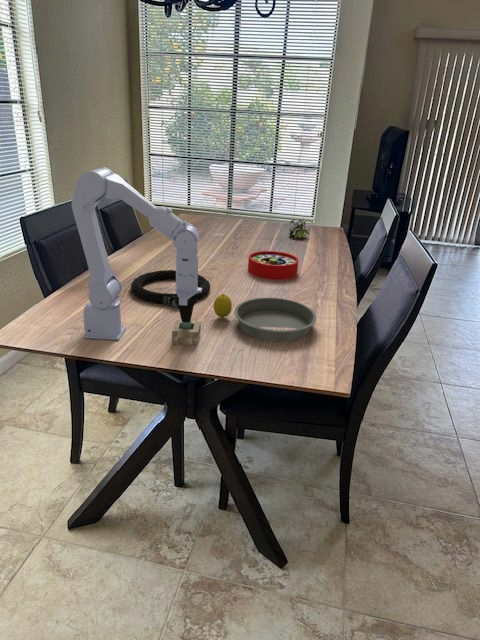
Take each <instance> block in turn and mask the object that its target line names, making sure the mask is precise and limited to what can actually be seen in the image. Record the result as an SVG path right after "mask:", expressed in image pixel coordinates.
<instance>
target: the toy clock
mask: <svg viewBox="0 0 480 640" xmlns="http://www.w3.org/2000/svg"><path fill="white" fill-rule="evenodd" d="M298 267H299V258H298V257H297V256H295V255H293V254H291V253H287V252H281V251H275V250H260V251H255V252H251V253H250V254H249V255H248V264H247V271H248V273H249V274H250V275H252V276H254V277H257V278H260V279H264V280H270V281H271V280H274V281H275V280H276V281H277V280H278V281H283V280H290V279H293V278H295V277H297V275H298V270H299V268H298Z"/></svg>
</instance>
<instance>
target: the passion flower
mask: <svg viewBox="0 0 480 640" xmlns="http://www.w3.org/2000/svg"><path fill="white" fill-rule="evenodd" d="M294 221H296V218H294V219H291V220H290V222H289V223H288V225H291V224H292V226H290V227H289V228H288V231H289V233H288V235H289V236H290V237H291V236H293V235H294V239H295V240H297V237H298V239H300V238H303V237H305V238H306V235H310V232H309V231H310V228H308V229H306V221H305V218H302V219H299V220H298V221H296V222H294Z"/></svg>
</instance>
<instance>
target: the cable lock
mask: <svg viewBox="0 0 480 640" xmlns="http://www.w3.org/2000/svg"><path fill="white" fill-rule="evenodd" d="M165 280H175V281H176V269H175V270H173V269H169V270H165V269H163V270H156V271H151V272H150V271H149V272H145V273H143V274H141V275H139V276H137V277H135V278H134V279H133V281H132V282H131V283H130V289H131V292H132V293H133V294H134V295H135V297H137V298H138V299H141V300H142V301H146V302H149V303H152V304H163V305H164V306H171V308H174V309H178V306H177V305H176V303H175V297H178V295H177V293H170V292H169V293H167V292H166V293H165V292H163V293H161V292H156V291H151V290H148V289H146V288H144V287H143V286H144V285H146V284H148V283H152V282H156V281H165ZM198 286H199V288H202V292H201V293H198V296H197V298H196V299H197V300H196V301H199V300H202V299H203V298H204V297H206V296H207V295H208V293H209V292H210V291H211V284H210V281H209V280H207V278H205V276H202V275H200V274H198Z"/></svg>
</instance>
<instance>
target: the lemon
mask: <svg viewBox="0 0 480 640" xmlns="http://www.w3.org/2000/svg"><path fill="white" fill-rule="evenodd" d="M232 307H233V304H232V300H231V298H230V297H229V296H228V295H227V294H225V293H221V294H219V295H217V296H216V297H215V299H214V302H213V311H214V313H215V314H216V316H218V317H220V319H224V318H225V317H228V316H229V315H230V314H231V312H232V309H233V308H232Z"/></svg>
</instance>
